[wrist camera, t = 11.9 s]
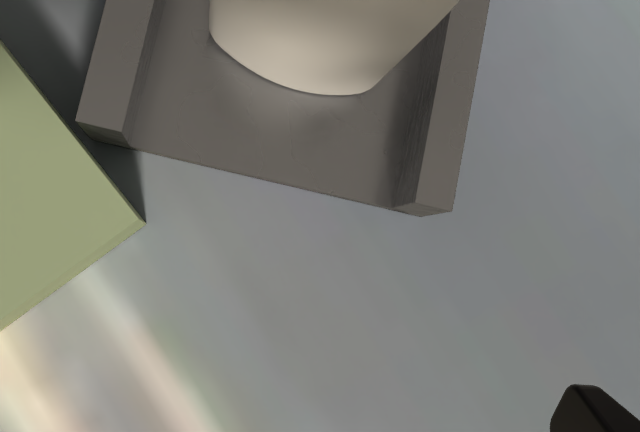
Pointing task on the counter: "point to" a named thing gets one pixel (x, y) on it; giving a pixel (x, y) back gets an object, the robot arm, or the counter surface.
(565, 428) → the robot arm
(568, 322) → the counter surface
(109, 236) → the deck plate
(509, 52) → the counter surface
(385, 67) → the eye dropper bottle
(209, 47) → the grey square tray
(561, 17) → the counter surface
